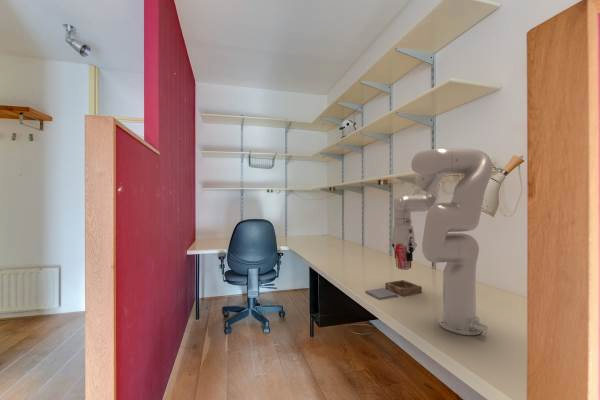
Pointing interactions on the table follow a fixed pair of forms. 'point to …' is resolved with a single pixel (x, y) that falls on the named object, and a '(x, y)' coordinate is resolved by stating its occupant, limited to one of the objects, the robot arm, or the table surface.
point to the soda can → (401, 257)
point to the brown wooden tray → (406, 291)
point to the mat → (381, 293)
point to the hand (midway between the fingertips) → (403, 259)
